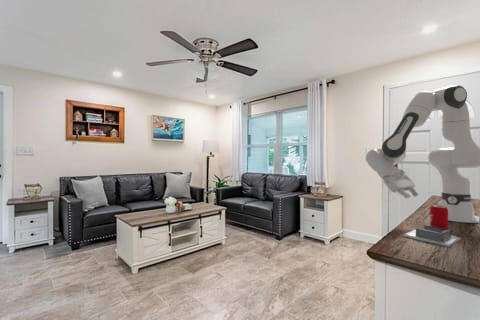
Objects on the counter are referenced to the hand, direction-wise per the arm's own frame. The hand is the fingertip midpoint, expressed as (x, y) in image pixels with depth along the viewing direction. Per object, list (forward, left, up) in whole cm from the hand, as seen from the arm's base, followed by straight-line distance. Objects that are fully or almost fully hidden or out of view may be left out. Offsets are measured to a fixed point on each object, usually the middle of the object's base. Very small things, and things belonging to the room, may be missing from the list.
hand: (412, 196), depth 118 cm
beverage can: (0, +10, -15) cm, 18 cm away
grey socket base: (+12, +11, -15) cm, 22 cm away
